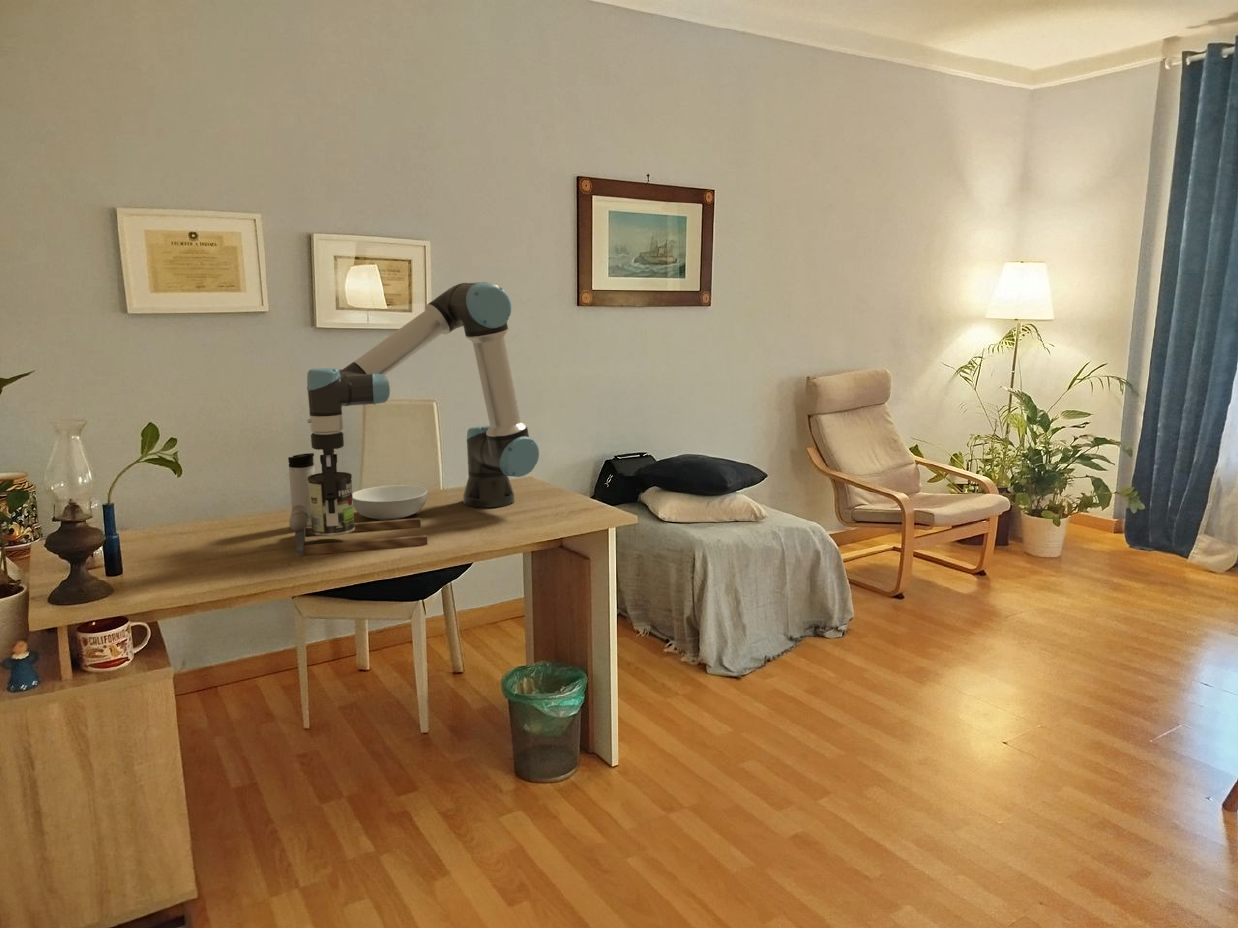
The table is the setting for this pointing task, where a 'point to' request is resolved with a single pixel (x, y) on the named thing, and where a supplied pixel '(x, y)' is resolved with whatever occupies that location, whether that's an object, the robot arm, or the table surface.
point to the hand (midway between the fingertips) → (332, 520)
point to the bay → (300, 522)
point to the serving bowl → (389, 501)
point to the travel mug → (301, 480)
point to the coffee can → (343, 505)
